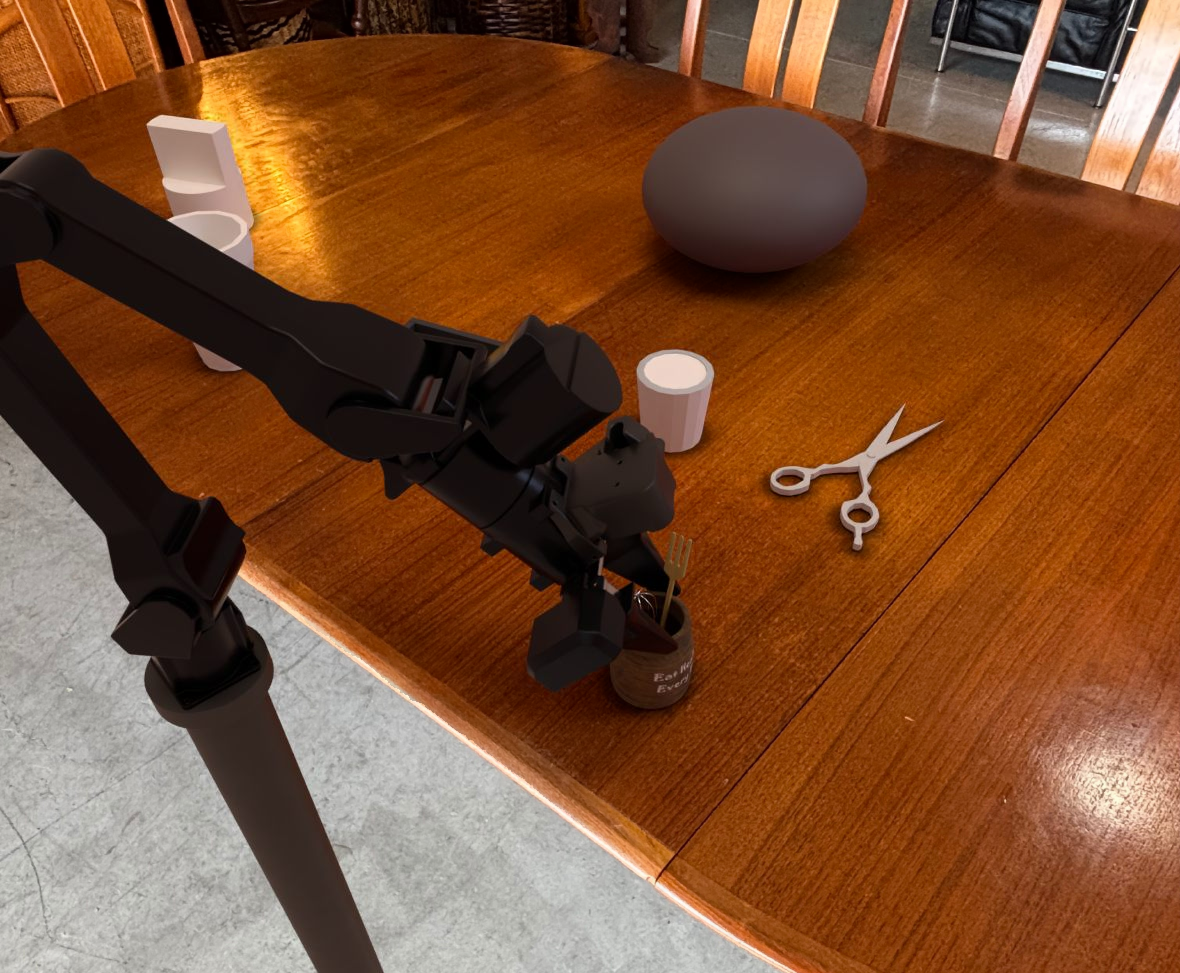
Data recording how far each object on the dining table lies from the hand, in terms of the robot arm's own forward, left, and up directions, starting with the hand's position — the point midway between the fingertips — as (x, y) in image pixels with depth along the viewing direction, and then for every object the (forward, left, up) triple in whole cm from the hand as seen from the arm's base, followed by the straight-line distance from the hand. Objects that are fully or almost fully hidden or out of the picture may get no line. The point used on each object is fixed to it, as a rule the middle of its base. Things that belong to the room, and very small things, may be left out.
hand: (674, 622), depth 67 cm
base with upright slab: (+6, +87, -7) cm, 88 cm away
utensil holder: (-1, +1, -7) cm, 7 cm away
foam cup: (-5, +60, -7) cm, 61 cm away
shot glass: (+20, +21, -7) cm, 30 cm away
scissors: (+30, +6, -7) cm, 31 cm away
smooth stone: (+50, +40, -7) cm, 65 cm away
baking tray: (+6, +40, -7) cm, 41 cm away
